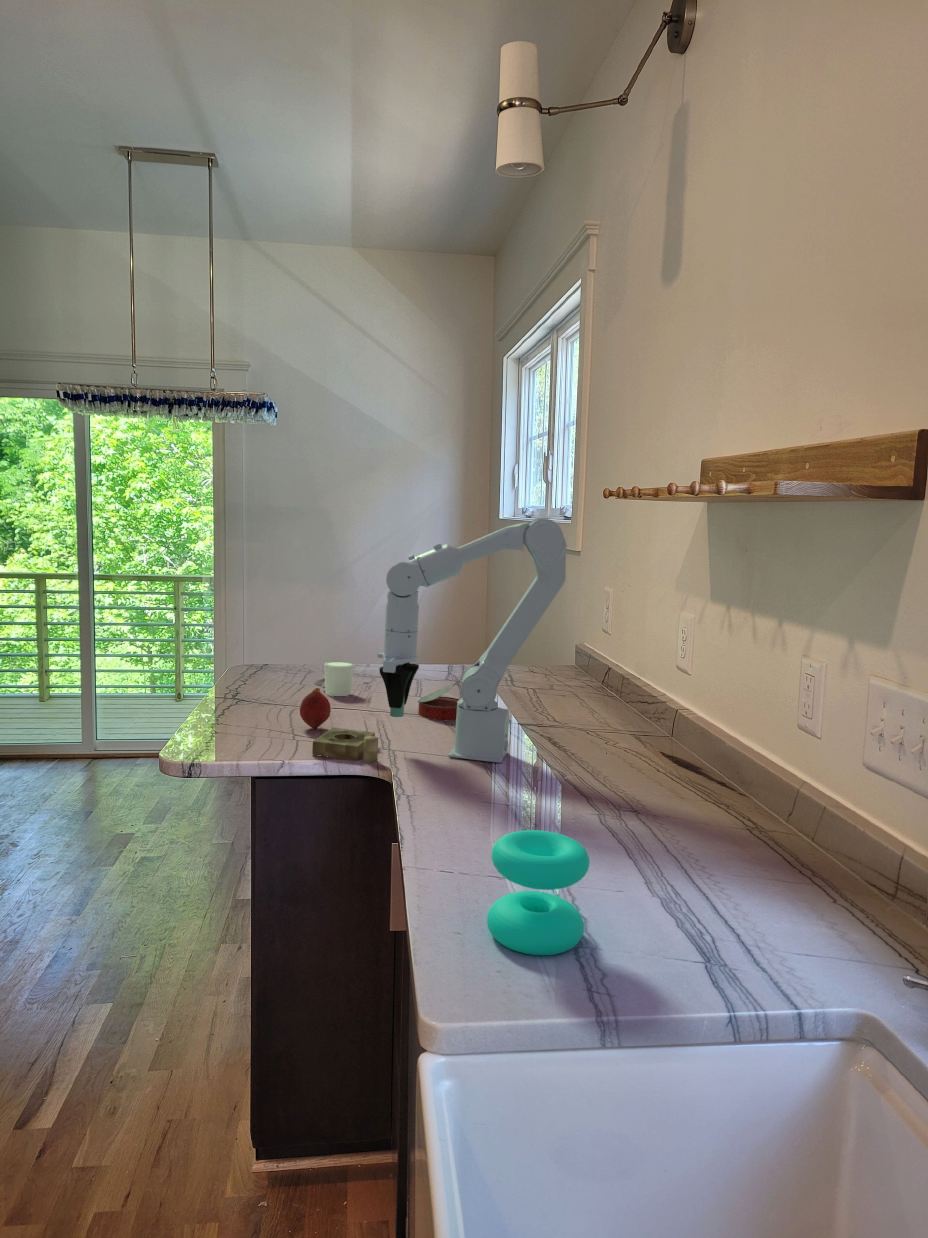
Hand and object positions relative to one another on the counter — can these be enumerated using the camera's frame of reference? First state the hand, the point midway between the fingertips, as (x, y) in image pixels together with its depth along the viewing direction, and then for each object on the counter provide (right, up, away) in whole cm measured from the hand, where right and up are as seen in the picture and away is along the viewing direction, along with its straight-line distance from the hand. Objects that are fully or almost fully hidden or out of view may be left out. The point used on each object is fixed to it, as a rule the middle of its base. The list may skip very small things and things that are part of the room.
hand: (397, 705), depth 155 cm
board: (-9, -8, -2) cm, 12 cm away
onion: (-17, -6, +12) cm, 21 cm away
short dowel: (-4, -9, -7) cm, 12 cm away
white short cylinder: (-17, -2, +43) cm, 46 cm away
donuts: (+19, -18, -65) cm, 70 cm away
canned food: (+7, -5, +30) cm, 31 cm away
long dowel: (0, -2, 0) cm, 2 cm away
